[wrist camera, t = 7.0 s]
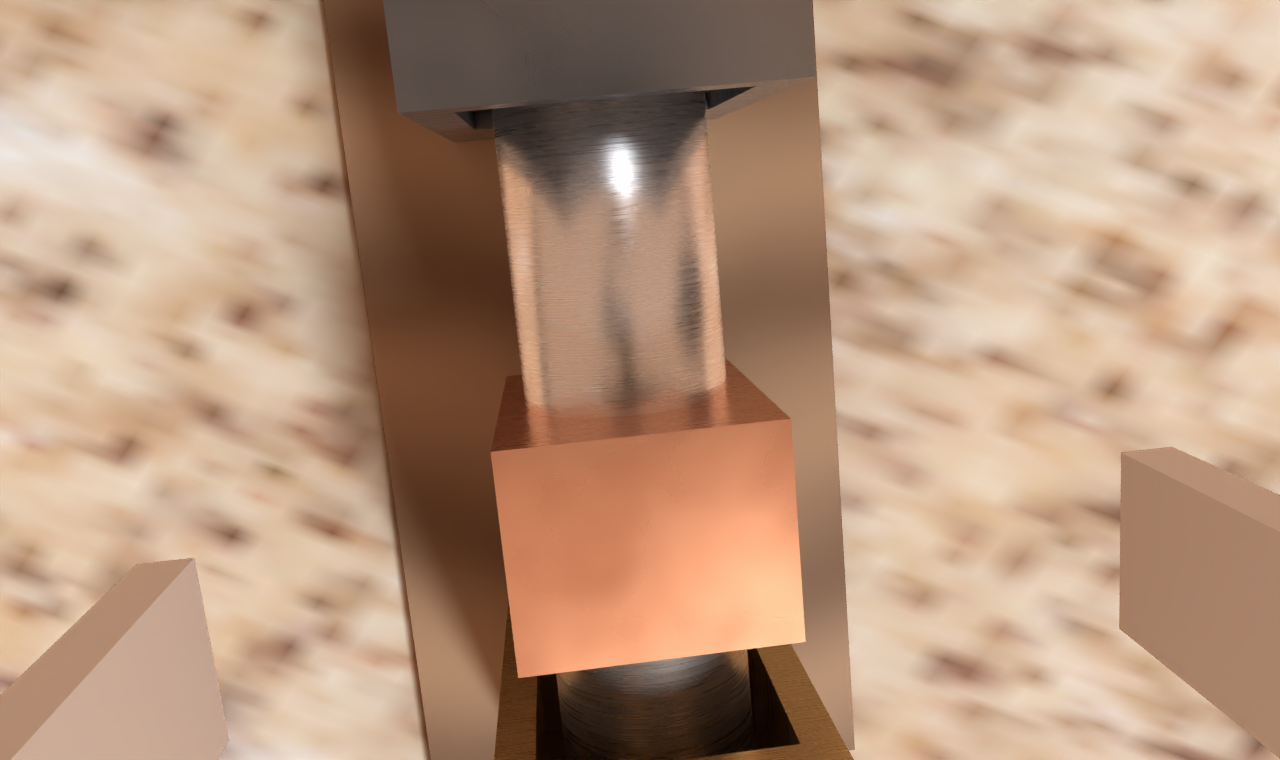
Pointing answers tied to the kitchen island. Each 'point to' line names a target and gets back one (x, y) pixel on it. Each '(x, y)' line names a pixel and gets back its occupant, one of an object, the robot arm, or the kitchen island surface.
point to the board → (488, 352)
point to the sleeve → (588, 54)
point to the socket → (784, 756)
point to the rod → (634, 438)
